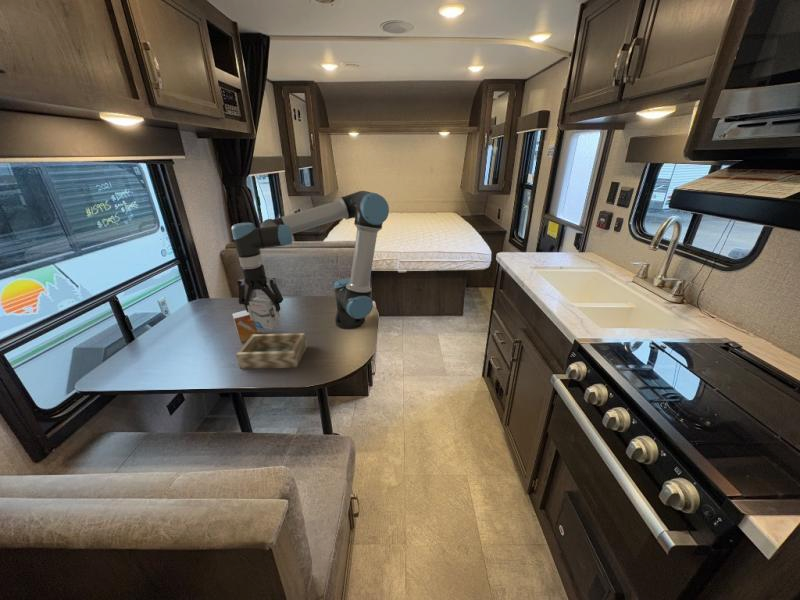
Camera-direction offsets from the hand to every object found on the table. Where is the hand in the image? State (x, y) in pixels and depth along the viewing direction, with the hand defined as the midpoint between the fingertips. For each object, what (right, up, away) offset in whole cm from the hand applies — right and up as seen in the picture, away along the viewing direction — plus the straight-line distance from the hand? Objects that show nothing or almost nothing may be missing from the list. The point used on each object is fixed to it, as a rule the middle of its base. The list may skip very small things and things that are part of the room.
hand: (265, 318), depth 123 cm
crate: (+1, -17, +8) cm, 19 cm away
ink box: (0, -3, +2) cm, 4 cm away
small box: (-18, -11, +23) cm, 32 cm away
